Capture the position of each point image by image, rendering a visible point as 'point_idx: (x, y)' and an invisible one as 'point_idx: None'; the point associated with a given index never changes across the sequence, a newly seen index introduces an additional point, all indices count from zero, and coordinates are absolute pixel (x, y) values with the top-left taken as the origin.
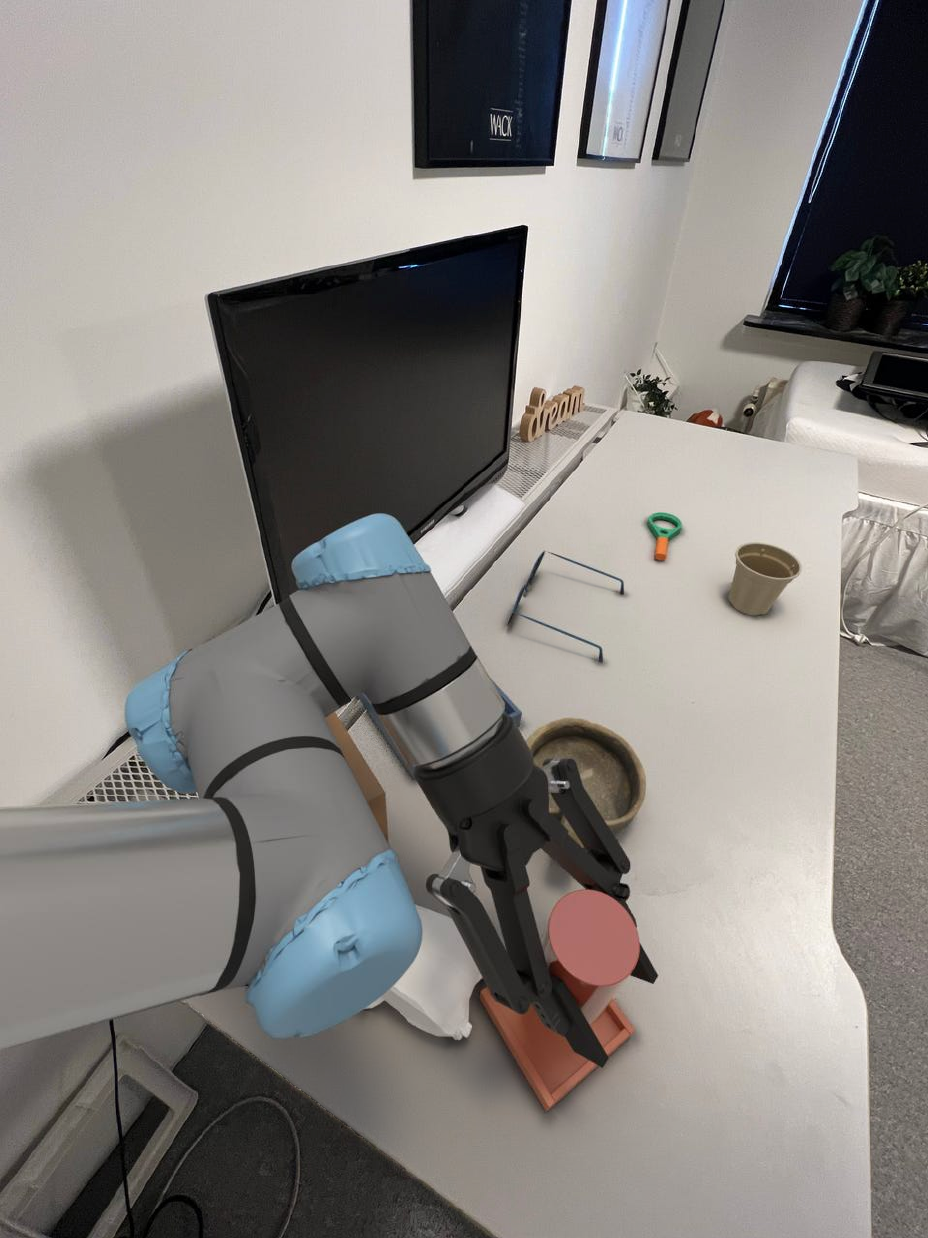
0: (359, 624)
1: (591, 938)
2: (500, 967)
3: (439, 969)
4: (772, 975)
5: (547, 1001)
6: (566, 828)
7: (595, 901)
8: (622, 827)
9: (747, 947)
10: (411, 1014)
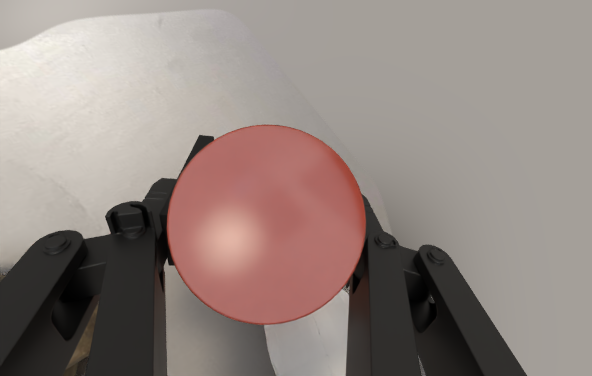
0: None
1: (282, 218)
2: (493, 340)
3: (336, 349)
4: (91, 82)
5: (372, 229)
6: None
7: (202, 254)
8: (1, 280)
9: (77, 107)
10: None
